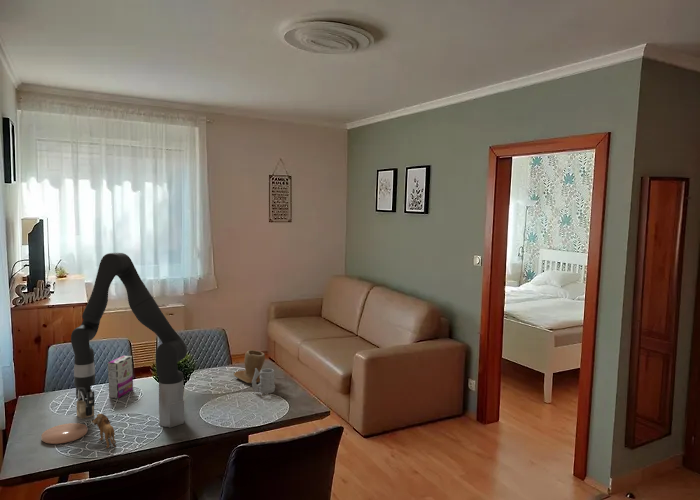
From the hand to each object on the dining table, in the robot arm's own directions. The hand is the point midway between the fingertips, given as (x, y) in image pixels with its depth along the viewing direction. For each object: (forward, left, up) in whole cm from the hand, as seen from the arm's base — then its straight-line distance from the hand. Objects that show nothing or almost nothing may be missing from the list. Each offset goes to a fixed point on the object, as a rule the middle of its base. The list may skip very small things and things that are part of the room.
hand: (85, 412), depth 206 cm
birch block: (0, 0, -1) cm, 1 cm away
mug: (-28, -69, -2) cm, 74 cm away
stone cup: (-11, -74, -2) cm, 75 cm away
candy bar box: (+14, -20, -2) cm, 24 cm away
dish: (-14, +12, -1) cm, 19 cm away
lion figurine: (-29, +3, -2) cm, 29 cm away
